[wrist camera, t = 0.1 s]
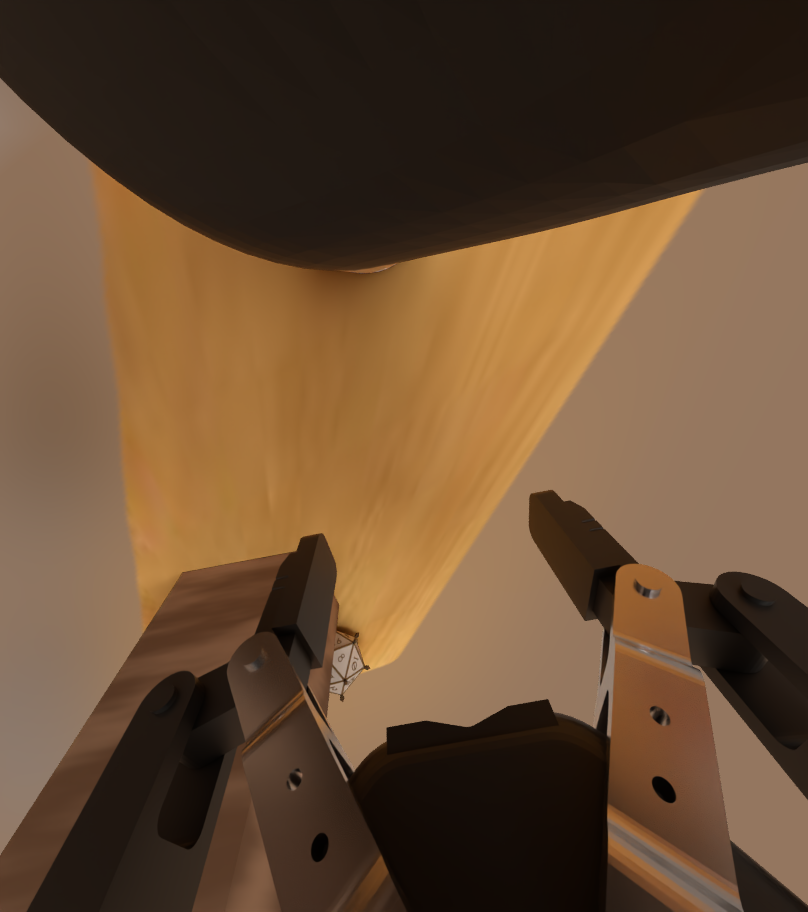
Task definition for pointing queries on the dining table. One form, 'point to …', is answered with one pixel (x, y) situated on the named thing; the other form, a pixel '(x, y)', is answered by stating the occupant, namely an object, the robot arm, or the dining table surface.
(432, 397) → the dining table surface
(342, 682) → the game die
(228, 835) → the walnut pedestal
